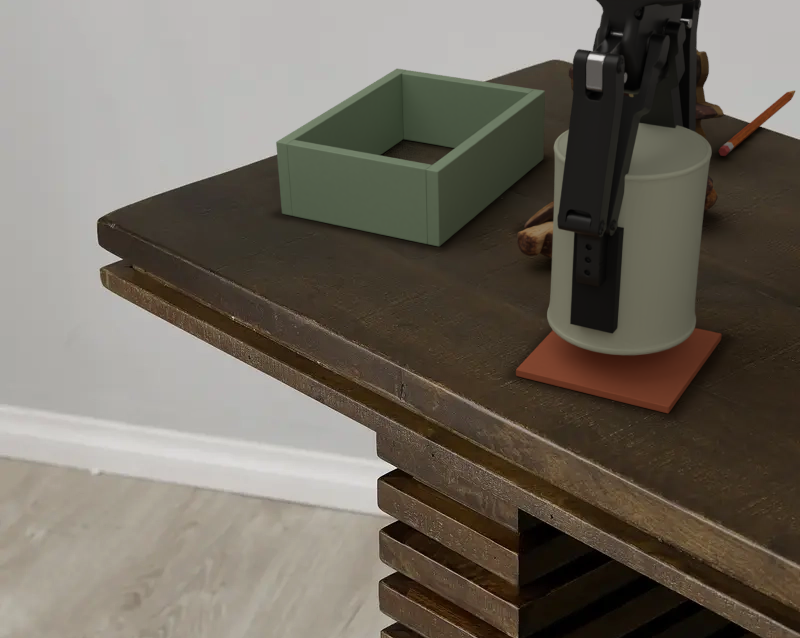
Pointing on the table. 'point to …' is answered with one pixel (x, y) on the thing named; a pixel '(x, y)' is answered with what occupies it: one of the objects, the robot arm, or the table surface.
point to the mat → (621, 370)
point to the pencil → (755, 123)
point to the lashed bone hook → (541, 235)
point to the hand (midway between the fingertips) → (623, 292)
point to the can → (644, 245)
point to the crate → (406, 180)
